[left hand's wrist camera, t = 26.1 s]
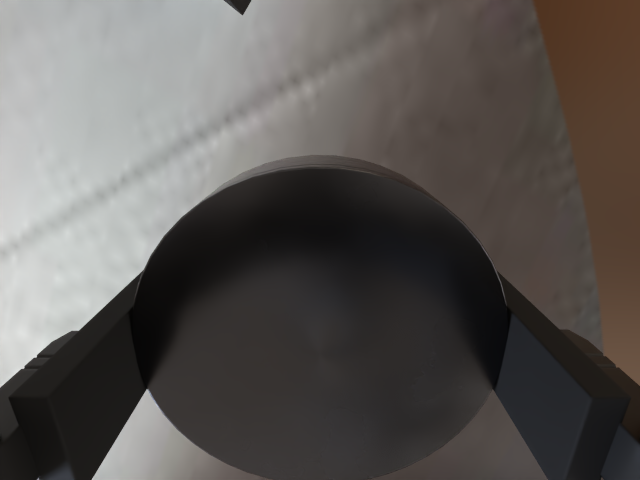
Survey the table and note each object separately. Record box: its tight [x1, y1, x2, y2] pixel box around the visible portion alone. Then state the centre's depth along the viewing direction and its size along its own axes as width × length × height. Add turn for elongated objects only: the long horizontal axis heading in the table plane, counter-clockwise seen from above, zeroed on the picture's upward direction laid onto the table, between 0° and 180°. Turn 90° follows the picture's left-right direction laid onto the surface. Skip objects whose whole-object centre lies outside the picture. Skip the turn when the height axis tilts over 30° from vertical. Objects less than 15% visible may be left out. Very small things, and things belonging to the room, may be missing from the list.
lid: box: [132, 155, 508, 480], centre depth 11 cm, size 10×10×2 cm
